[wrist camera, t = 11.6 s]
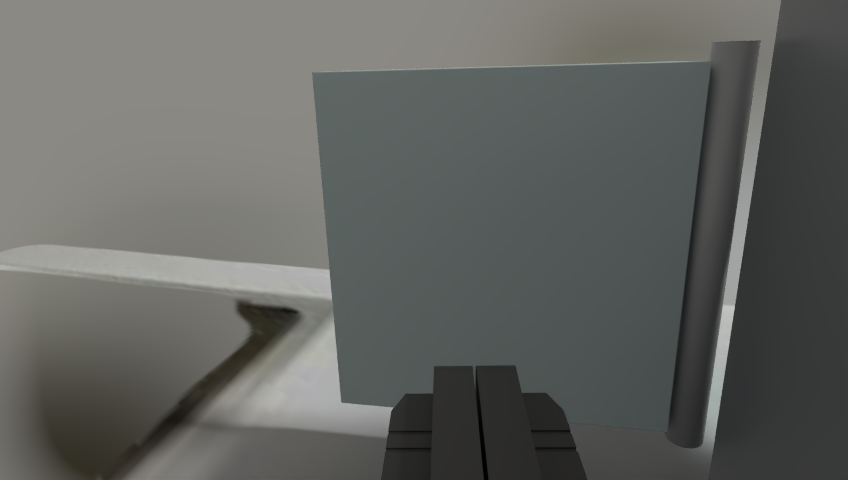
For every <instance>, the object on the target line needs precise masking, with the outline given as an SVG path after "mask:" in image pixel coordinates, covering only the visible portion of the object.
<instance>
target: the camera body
mask: <svg viewBox="0 0 848 480" xmlns="http://www.w3.org/2000/svg"><path fill="white" fill-rule="evenodd" d="M709 480H848V0H781V6H780V13H779V20H778V26H777V33H776V40H775V46H774V52H773V59H772V66H771V72H770V79H769V85H768V92H767V99H766V105H765V112H764V119H763V125H762V132H761V138H760V145H759V152H758V158H757V165H756V171H755V178H754V185H753V191H752V198H751V204H750V211H749V218H748V224H747V231H746V237H745V244H744V251H743V257H742V264H741V270H740V277H739V284H738V291H737V298H736V304H735V310H734V317H733V323H732V330H731V337H730V343H729V350H728V356H727V363H726V370H725V376H724V383H723V390H722V396H721V403H720V409H719V416H718V423H717V429H716V436H715V442H714V449H713V456H712V462H711V469H710V476H709Z"/></svg>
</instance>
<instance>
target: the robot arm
mask: <svg viewBox="0 0 848 480" xmlns="http://www.w3.org/2000/svg"><path fill="white" fill-rule="evenodd" d="M381 480H587V478H586V475H585V472H584V469H583V466H582V463H581V460H580V457H579V454H578V452H577V451H576V445H575V442H574V439H573V436H572V434H571V433H570V428H569V425H568V422H567V419H566V416H565V413H564V410H563V409H562V408H561V407H560V406H559V405H558V404H557V403H556V402H555V401H554V400H553V399H552V398H551V397H550V396H549V395H548V394H547V393H522V391H521V387H520V382H519V378H518V374H517V369H516V366H515V365H487V366H476V369H475V383H474V373H473V366H434V380H433V393H426V394H405V395H404V396H403V397H402V398H401V400H400V401H399V402H398V403H397V405H396V406H395V407H394V408H393V410H392V411H391V418H390V424H389V435H388V438H387V445H386V452H385V459H384V465H383V472H382V479H381Z"/></svg>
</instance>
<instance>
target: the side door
mask: <svg viewBox="0 0 848 480" xmlns="http://www.w3.org/2000/svg"><path fill="white" fill-rule="evenodd" d="M760 42H761V41H730V42H712V43H711V52H710V60H709V61H677V62H646V63H645V62H644V63H608V64H575V65H574V64H573V65H537V66H501V67H467V68H432V69H431V68H430V69H400V70H399V69H395V70H360V71H327V72H326V71H325V72H313V73H312V75H313V87H314V97H315V109H316V121H317V132H318V143H319V155H320V166H321V177H322V187H323V188H322V189H323V199H324V210H325V221H326V222H325V223H326V234H327V244H328V256H329V266H330V267H329V268H330V279H331V290H332V302H333V313H334V324H335V336H336V347H337V358H338V370H339V381H340V392H341V403H351V404H363V405H374V406H385V407H395V406H396V405H397V403H398V402H399V401H400V400H401V398H402V397H403V396H404V395H405V394H426V393H433V380H434V366H473V373H474V383H475V369H476V366H487V365H515V366H516V369H517V374H518V378H519V382H520V387H521V391H522V393H547V394H548V395H549V396H550V397H551V398H552V399H553V400H554V401H555V402H556V403H557V404H558V405H559V406H560V407H561V408H562V409H563V410H564V413H565V416H566V419H567V422H568V423H575V424H586V425H597V426H609V427H620V428H631V429H642V430H653V431H665V434H666V437H667V438H668V440H670V441H671V442H672V443H674V444H676V445H678V446H681V447H685V448H697V447H699V446H701V445H702V443H703V438H704V431H705V424H706V418H707V411H708V404H709V397H710V390H711V383H712V376H713V369H714V362H715V355H716V348H717V341H718V334H719V327H720V320H721V313H722V306H723V299H724V292H725V285H726V278H727V271H728V264H729V257H730V250H731V244H732V237H733V230H734V222H735V215H736V208H737V201H738V194H739V188H740V181H741V173H742V167H743V160H744V153H745V146H746V139H747V132H748V125H749V118H750V111H751V104H752V97H753V90H754V83H755V76H756V69H757V63H758V56H759V48H760Z"/></svg>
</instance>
